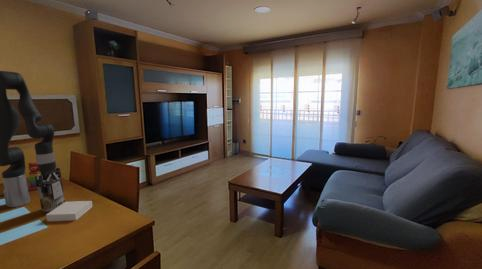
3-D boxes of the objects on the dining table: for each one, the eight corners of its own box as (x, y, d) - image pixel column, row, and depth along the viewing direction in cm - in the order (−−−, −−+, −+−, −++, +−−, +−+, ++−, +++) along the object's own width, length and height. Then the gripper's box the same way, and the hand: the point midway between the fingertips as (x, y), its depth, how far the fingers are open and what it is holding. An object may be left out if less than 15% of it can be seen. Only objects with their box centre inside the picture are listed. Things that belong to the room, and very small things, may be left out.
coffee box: (66, 206, 128) (62, 179, 125) (56, 212, 121) (51, 183, 119) (51, 205, 129) (47, 178, 126) (41, 211, 122) (36, 183, 120)
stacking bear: (25, 191, 148) (20, 165, 145) (32, 186, 157) (27, 161, 154) (45, 188, 152) (41, 163, 149) (51, 183, 161) (47, 159, 158)
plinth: (47, 222, 113) (45, 214, 112) (66, 208, 126) (65, 201, 126) (76, 221, 114) (75, 213, 113) (92, 207, 127) (91, 200, 127)
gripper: (49, 157, 127) (53, 185, 130) (27, 165, 113) (32, 195, 116) (63, 157, 127) (67, 184, 130) (42, 165, 113) (48, 195, 116)
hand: (51, 189), depth 123 cm, fingers open, 8 cm apart
